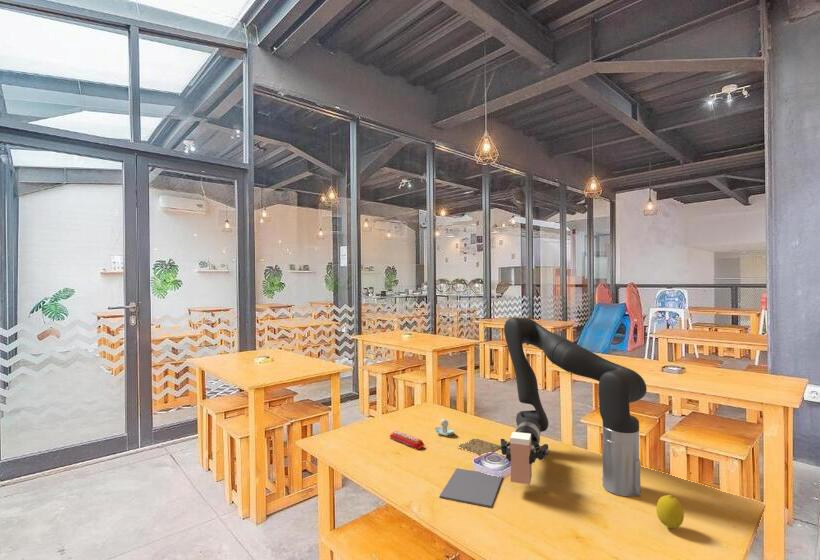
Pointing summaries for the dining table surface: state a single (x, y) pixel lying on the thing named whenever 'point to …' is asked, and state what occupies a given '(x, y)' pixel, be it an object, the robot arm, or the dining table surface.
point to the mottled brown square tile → (480, 446)
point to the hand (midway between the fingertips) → (520, 459)
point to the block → (520, 457)
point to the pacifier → (444, 428)
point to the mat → (472, 487)
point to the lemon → (670, 511)
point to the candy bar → (407, 439)
